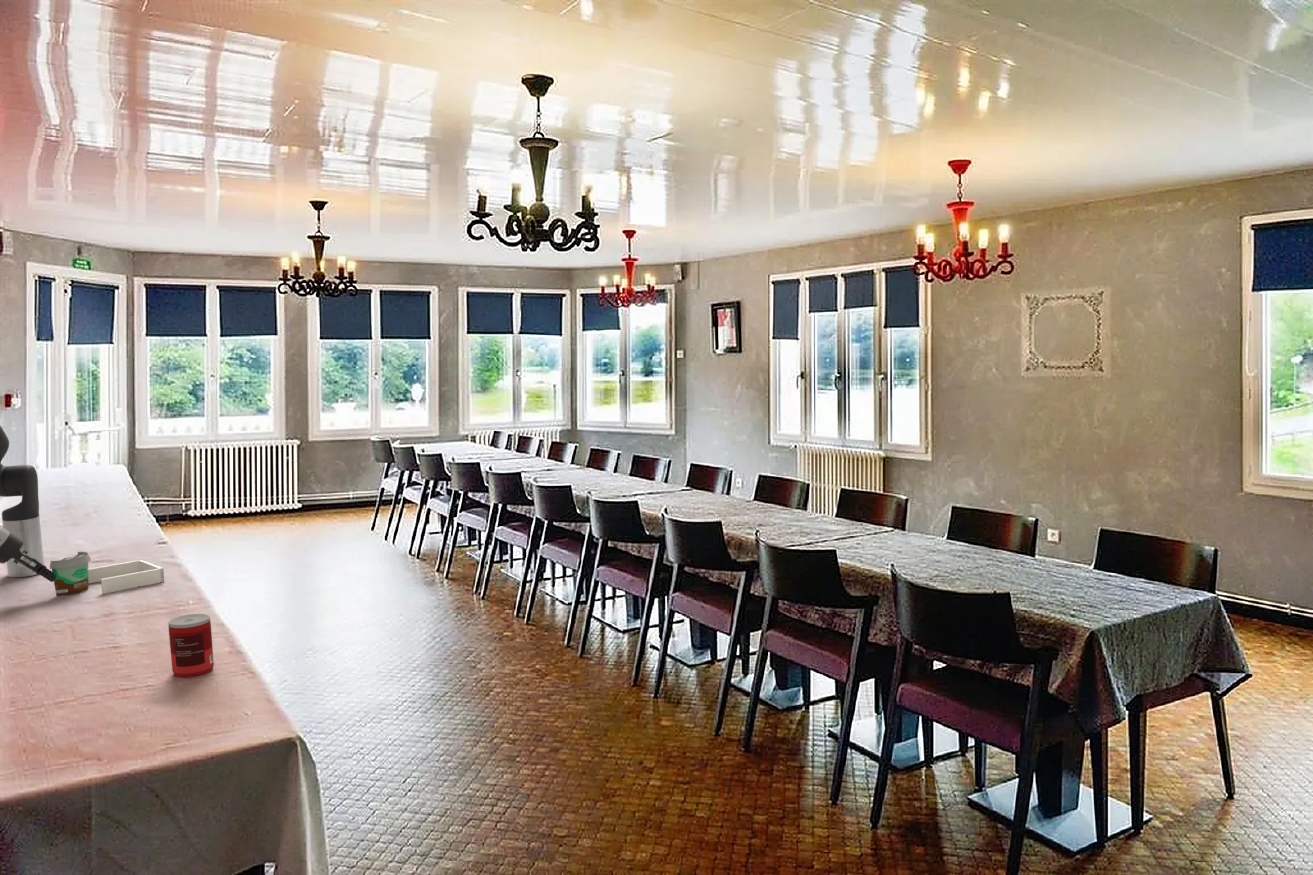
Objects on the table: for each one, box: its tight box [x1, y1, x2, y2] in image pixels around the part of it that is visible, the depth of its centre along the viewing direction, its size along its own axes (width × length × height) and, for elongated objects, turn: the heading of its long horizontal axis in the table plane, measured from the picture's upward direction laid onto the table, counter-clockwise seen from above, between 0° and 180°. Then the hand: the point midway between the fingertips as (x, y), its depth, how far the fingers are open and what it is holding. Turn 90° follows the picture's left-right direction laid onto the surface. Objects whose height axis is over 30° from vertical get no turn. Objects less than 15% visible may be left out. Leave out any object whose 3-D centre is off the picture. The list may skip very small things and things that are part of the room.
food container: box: [49, 551, 92, 597], centre depth 254 cm, size 12×6×10 cm, turn 178°
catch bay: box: [88, 559, 165, 595], centre depth 263 cm, size 18×16×4 cm
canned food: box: [167, 613, 215, 678], centre depth 187 cm, size 8×8×11 cm
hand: (54, 578), depth 250 cm, fingers closed
